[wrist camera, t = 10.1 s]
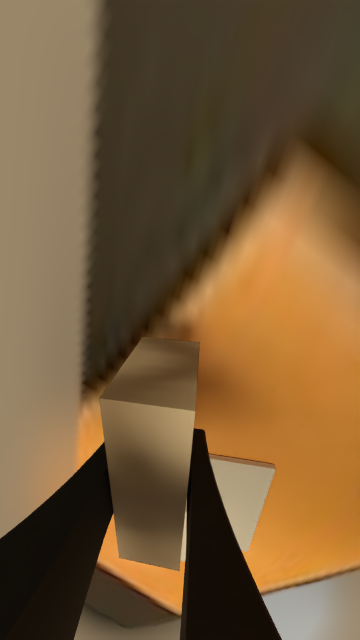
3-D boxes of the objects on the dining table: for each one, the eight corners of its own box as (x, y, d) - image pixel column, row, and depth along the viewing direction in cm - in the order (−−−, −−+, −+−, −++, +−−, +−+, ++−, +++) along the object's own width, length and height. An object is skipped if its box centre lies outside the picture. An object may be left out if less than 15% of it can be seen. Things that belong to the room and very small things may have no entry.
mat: (274, 464, 17) (275, 469, 17) (246, 546, 22) (247, 551, 22) (121, 440, 19) (120, 444, 18) (128, 522, 24) (127, 526, 23)
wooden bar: (199, 342, 10) (195, 411, 6) (187, 470, 13) (179, 571, 9) (143, 336, 10) (99, 398, 6) (145, 463, 14) (119, 557, 10)
